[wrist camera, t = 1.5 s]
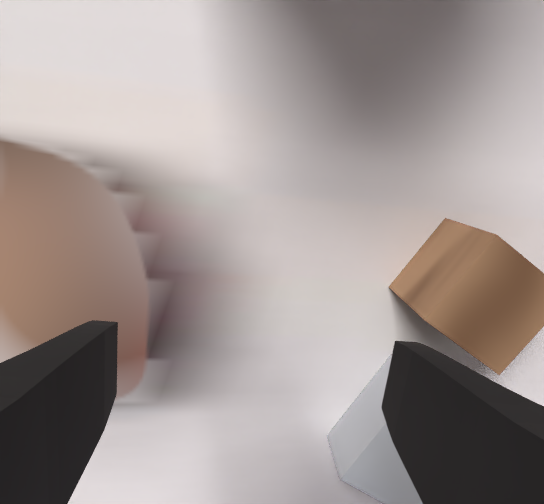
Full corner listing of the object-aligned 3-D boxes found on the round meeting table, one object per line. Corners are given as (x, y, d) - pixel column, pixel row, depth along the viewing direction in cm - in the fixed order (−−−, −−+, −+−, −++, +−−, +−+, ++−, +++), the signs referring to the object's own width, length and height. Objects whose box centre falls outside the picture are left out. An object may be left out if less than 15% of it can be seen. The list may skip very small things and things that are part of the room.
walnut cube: (505, 267, 22) (571, 296, 18) (449, 332, 23) (499, 375, 18) (444, 217, 21) (497, 234, 17) (388, 286, 22) (424, 320, 17)
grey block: (469, 403, 24) (507, 444, 20) (405, 478, 25) (431, 530, 21) (389, 352, 23) (415, 386, 19) (325, 432, 24) (339, 479, 20)
